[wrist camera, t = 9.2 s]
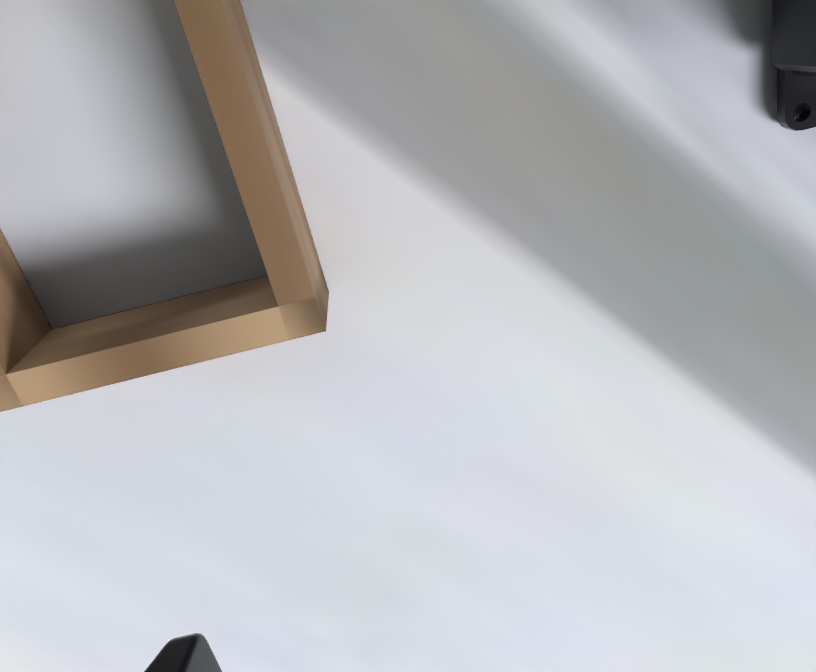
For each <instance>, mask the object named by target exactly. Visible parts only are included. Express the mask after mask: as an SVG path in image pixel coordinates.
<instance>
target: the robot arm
mask: <svg viewBox="0 0 816 672" xmlns="http://www.w3.org/2000/svg"><path fill="white" fill-rule="evenodd" d="M773 63H774V64H775V65H776V66H777V119H778V122H779V124H780V125H781V126H782V127H784V128H786V129H791V130H805V129H809V128H813V127H816V0H773ZM800 104H801V105H802V113H801V115H800V116H799V117H798V118H797V119H794V116H793V114H794V110H795V108H796V107H797V106H798V105H800ZM144 672H222V670H221V668H220V666H219V664H218V662H217V660H216V658H215V656H214V654H213V652H212V650H211V648H210V646H209V644H208V642H207V640H206V639H205V637H204V636H203V635H202V634H197V633H196V634H191V635H187V636H182V637H178V638H174V639H172V640H170V641H169V642H168V643H167V644H166V645H165V646H164V647H163V649H162V650H161V651H160V652H159V654H158V655H157V656H156V658H155V659H154V660H153V661H152V663H151V664H150V665H149V666H148V668H147V669H146V670H145V671H144Z"/></svg>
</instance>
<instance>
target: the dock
mask: <svg viewBox="0 0 816 672" xmlns="http://www.w3.org/2000/svg"><path fill="white" fill-rule="evenodd" d="M174 3H175V6H176V9H177V12H178V15H179V18H180V21H181V24H182V27H183V29H184V32H185V35H186V38H187V41H188V44H189V47H190V50H191V53H192V56H193V59H194V62H195V64H196V67H197V70H198V73H199V76H200V79H201V82H202V85H203V88H204V91H205V94H206V97H207V99H208V102H209V105H210V108H211V111H212V114H213V117H214V120H215V123H216V126H217V129H218V132H219V135H220V137H221V140H222V143H223V146H224V149H225V152H226V155H227V158H228V161H229V164H230V167H231V170H232V172H233V175H234V178H235V181H236V184H237V187H238V190H239V193H240V196H241V199H242V202H243V205H244V207H245V210H246V213H247V216H248V219H249V222H250V225H251V228H252V231H253V234H254V237H255V240H256V243H257V245H258V248H259V251H260V254H261V257H262V260H263V263H264V266H265V269H266V272H267V276H263V277H259V278H255V279H251V280H247V281H243V282H239V283H235V284H231V285H227V286H223V287H219V288H215V289H211V290H207V291H203V292H199V293H195V294H191V295H187V296H183V297H179V298H175V299H171V300H168V301H164V302H160V303H156V304H152V305H148V306H144V307H140V308H136V309H132V310H128V311H124V312H120V313H116V314H112V315H108V316H104V317H100V318H96V319H92V320H88V321H84V322H80V323H76V324H72V325H68V326H64V327H60V328H56V329H52V330H51V328H50V326H49V324H48V322H47V320H46V318H45V316H44V314H43V312H42V310H41V308H40V306H39V304H38V302H37V300H36V298H35V296H34V294H33V292H32V290H31V288H30V286H29V284H28V282H27V280H26V278H25V276H24V274H23V272H22V270H21V269H20V267H19V265H18V263H17V261H16V259H15V257H14V255H13V253H12V251H11V249H10V247H9V245H8V243H7V241H6V239H5V237H4V235H3V233H2V231H1V229H0V412H2V411H6V410H10V409H14V408H18V407H22V406H26V405H30V404H34V403H38V402H42V401H46V400H50V399H54V398H58V397H62V396H66V395H70V394H74V393H78V392H82V391H86V390H90V389H94V388H98V387H102V386H106V385H110V384H114V383H118V382H123V381H127V380H131V379H135V378H139V377H143V376H147V375H151V374H155V373H159V372H163V371H167V370H171V369H175V368H179V367H183V366H187V365H191V364H195V363H199V362H203V361H207V360H211V359H215V358H219V357H223V356H227V355H231V354H235V353H239V352H243V351H247V350H251V349H255V348H259V347H263V346H267V345H271V344H275V343H279V342H284V341H288V340H292V339H296V338H300V337H304V336H308V335H312V334H316V333H320V332H324V331H326V322H327V310H328V297H329V291H328V288H327V284H326V281H325V278H324V274H323V271H322V268H321V265H320V261H319V258H318V255H317V252H316V248H315V245H314V242H313V238H312V235H311V232H310V229H309V225H308V222H307V219H306V215H305V212H304V209H303V206H302V202H301V199H300V196H299V192H298V189H297V186H296V183H295V179H294V176H293V173H292V169H291V166H290V163H289V160H288V156H287V153H286V150H285V147H284V143H283V140H282V137H281V133H280V130H279V127H278V124H277V120H276V117H275V114H274V110H273V107H272V104H271V101H270V97H269V94H268V91H267V87H266V84H265V81H264V78H263V74H262V71H261V68H260V64H259V61H258V58H257V55H256V51H255V48H254V45H253V41H252V38H251V35H250V32H249V28H248V25H247V22H246V19H245V15H244V12H243V9H242V5H241V2H240V0H174Z"/></svg>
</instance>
